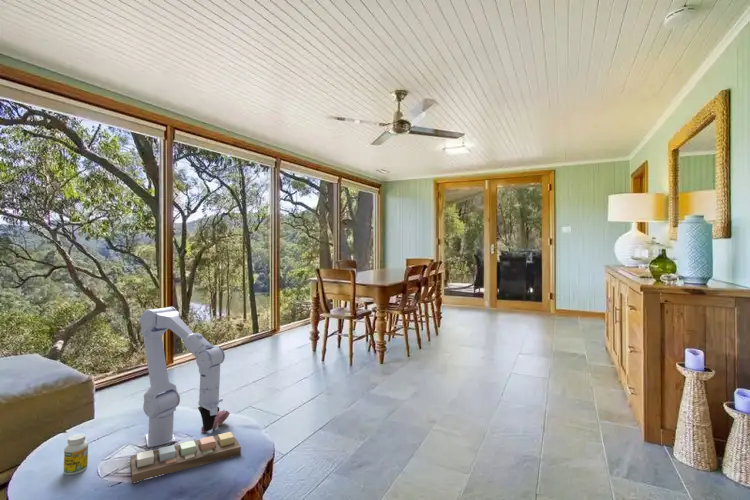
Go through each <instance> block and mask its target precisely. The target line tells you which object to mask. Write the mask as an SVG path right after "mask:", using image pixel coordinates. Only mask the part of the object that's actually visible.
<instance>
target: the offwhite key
mask: <svg viewBox="0 0 750 500" xmlns="http://www.w3.org/2000/svg"><path fill="white" fill-rule="evenodd" d="M153 451H154V450H153V449H151V450H146V451H141V452H137V453H136V455H137V460H136V464H137V468H138V467H142V466H146V465H150V464H154V454H153Z"/></svg>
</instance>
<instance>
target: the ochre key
mask: <svg viewBox="0 0 750 500" xmlns="http://www.w3.org/2000/svg"><path fill="white" fill-rule="evenodd" d="M233 435H234V433H233V432H232V433H231V431H228V432H223V433H219V434H217V436H218V444H219V446H220V447H221V446H225V445H229V444H233V443H234V437H235V435H234V436H233Z"/></svg>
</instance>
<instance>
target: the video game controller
mask: <svg viewBox="0 0 750 500" xmlns="http://www.w3.org/2000/svg"><path fill="white" fill-rule="evenodd" d="M230 414H231V413H230V411H227V410H225V409H223V410H219V412H218V414H217V415H216V417H215V420H214V424H213V427H212V430H213V431H215V430H217V428H218V427H221V426H222V425H223V424H224V422H225V421H226V419H228V417H229V416H230ZM210 431H211V430H209V431H204V428H203V426H201V432H202V433H208V432H210Z"/></svg>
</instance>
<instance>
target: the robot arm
mask: <svg viewBox="0 0 750 500" xmlns="http://www.w3.org/2000/svg"><path fill="white" fill-rule="evenodd" d="M180 316H181V315H180V312H179V310H177V309H176V308H175V307H174V306H167V307H162V308H153V309H145V310H144V311H143V313H142V314H141V316H140V317H139V323H140V328H141V336H142V339H143V344H144V351H145V358H146V362H147V369H148V377H149V384H150V387H149V388H148V389H147V391H146V392H145V393H144V394H143V407H142V410H143V413H144V414H145V415H146V416H147V417H148V433H146V434H144V435H145V441H146V446H147V448H149V449H150V448H153V447H154V448H155V447H159V446H162V445H167V444H171V443H175V442H176V437H175V435H174V417H175V416H174V414H175V411H177V407H178V406H180V403H181V396H180V393H179V392H178V390H177V385H176V384H174V383H172V382H170V381H169V373H168V367H167V361H166V354H165V350H164V349H165V348H164V342H163V335H164V334H165V332H167V331H168V330H170V331H171V332H173V333H174V334H175V335H176V336H178V338H180V339H181V340H183V343H184V344H183V345H184V348H185V349H187V351H189V352H190V354H191V355H193V357H195V360H196V364H197V367H198V374H200V376H199V395H198V398H199V399H198V402H197V403H198V404H197V405H198V407H197V408H198V411H199V413H200V416H201V420H202V427H203V428H204V431H208V432H210V431H212V430H213V429H212V427H213V424H214V420H215V417H216V415H217V414H218V412H219V411H220V407H219V404H220V403H222V402H223V400H224V398H223V397H221V396H220V385H221V384H220V381H221V380H220V379H221V378H220V377H221V364H222V363H224V360H225V359H226V357H225V356H226V354H225V352H224V349H223V348H222V347H221V346H220V345H219V346H218V345H213V344H212V343H210V342H209V340H207V339H206V338H205V337H204V336H203V334H202V333H199V332H195V333H194V332H193V331H192V330H191V328H190V327H189V326H188V325H187V324H186V323H185V321H183V320H182V319H181V317H180ZM209 430H210V431H209Z"/></svg>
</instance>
